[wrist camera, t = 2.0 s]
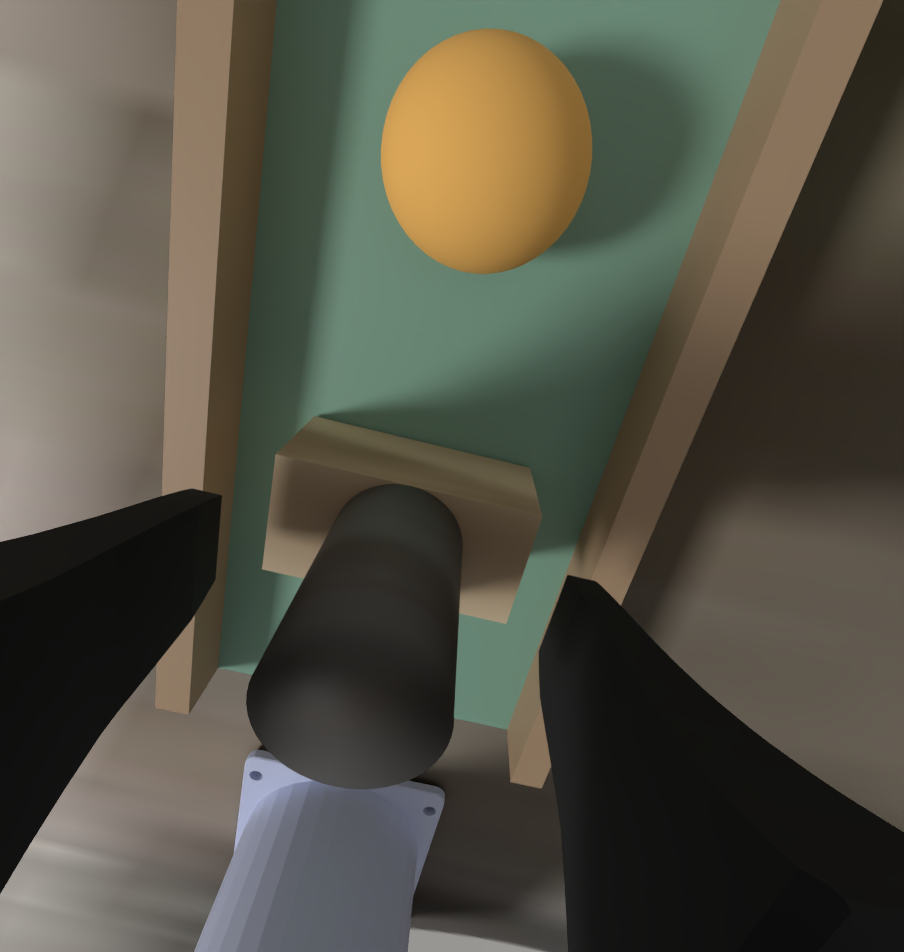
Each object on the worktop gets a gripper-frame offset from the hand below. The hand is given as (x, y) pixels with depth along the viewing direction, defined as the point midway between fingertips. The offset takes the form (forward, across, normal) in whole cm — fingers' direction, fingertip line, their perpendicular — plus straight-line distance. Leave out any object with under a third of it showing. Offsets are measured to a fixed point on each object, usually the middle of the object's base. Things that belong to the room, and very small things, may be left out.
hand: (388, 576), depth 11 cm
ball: (+2, 0, -8) cm, 8 cm away
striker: (+4, 0, 0) cm, 4 cm away
